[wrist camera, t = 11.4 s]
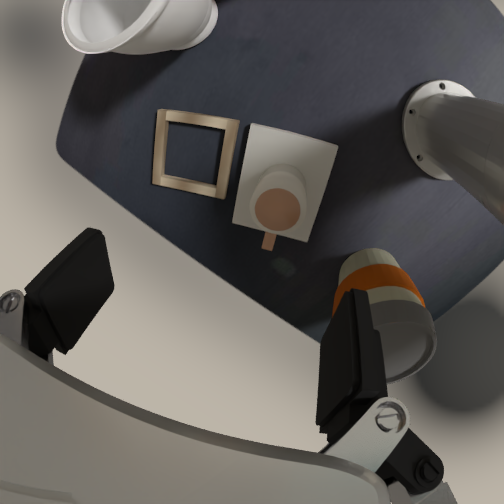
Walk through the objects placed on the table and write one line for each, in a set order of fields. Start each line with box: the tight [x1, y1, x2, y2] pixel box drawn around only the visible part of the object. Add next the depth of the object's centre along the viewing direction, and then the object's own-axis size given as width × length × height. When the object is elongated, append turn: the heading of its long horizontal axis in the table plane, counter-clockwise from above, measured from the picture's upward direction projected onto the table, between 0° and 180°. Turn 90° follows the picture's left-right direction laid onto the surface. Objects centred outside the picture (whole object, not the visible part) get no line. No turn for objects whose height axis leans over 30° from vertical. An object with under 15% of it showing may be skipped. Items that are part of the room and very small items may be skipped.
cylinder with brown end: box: [249, 164, 307, 251], centre depth 31 cm, size 8×6×7 cm
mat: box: [232, 123, 338, 242], centre depth 33 cm, size 10×13×1 cm
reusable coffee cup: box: [332, 248, 437, 384], centre depth 33 cm, size 13×12×15 cm
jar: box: [62, 0, 218, 55], centre depth 17 cm, size 11×10×15 cm
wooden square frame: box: [152, 109, 240, 199], centre depth 33 cm, size 10×10×1 cm
